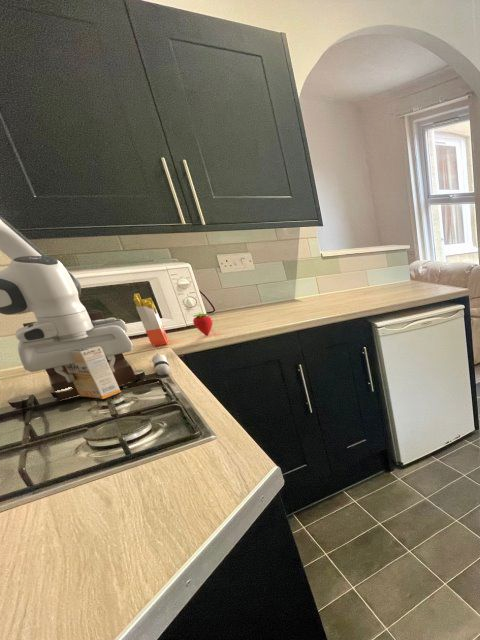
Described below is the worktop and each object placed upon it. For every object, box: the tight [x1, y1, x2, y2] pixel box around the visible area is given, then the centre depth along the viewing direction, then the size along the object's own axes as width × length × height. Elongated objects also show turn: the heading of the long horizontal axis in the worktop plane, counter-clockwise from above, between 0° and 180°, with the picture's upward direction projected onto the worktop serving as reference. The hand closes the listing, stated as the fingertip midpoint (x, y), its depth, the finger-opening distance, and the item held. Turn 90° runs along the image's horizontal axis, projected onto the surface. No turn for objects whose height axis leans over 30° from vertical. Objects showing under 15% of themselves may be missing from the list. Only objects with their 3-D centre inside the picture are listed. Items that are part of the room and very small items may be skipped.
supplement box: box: [65, 346, 122, 400], centre depth 108 cm, size 8×5×13 cm, turn 76°
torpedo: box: [149, 345, 171, 376], centre depth 127 cm, size 18×5×7 cm, turn 42°
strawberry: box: [192, 313, 213, 336], centre depth 159 cm, size 6×8×10 cm
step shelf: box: [22, 310, 138, 401], centre depth 116 cm, size 16×19×18 cm
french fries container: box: [133, 293, 169, 347], centre depth 150 cm, size 5×11×18 cm, turn 36°
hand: (91, 376), depth 108 cm, fingers closed on supplement box, 6 cm apart
